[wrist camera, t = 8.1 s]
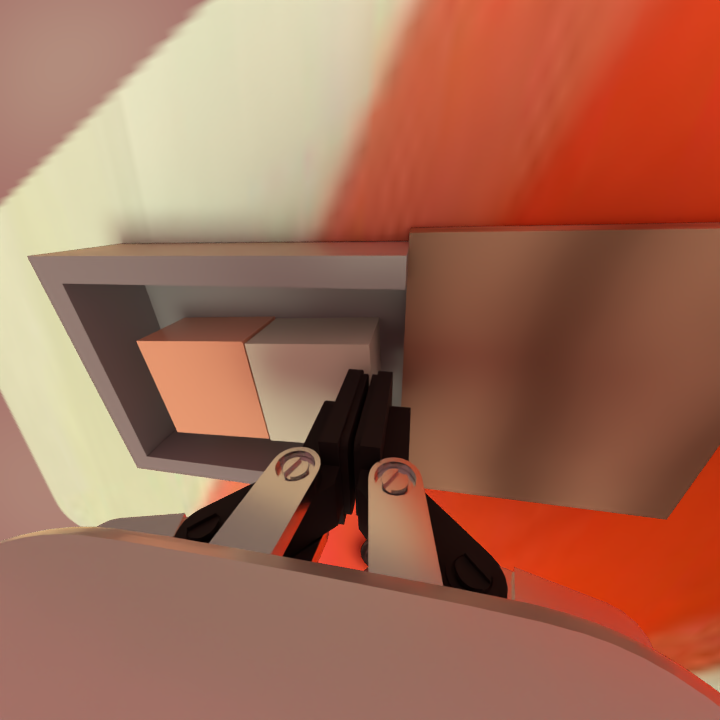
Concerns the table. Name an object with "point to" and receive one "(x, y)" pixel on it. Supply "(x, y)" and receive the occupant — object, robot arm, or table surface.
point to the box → (211, 299)
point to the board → (564, 362)
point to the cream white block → (308, 367)
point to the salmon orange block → (208, 374)
